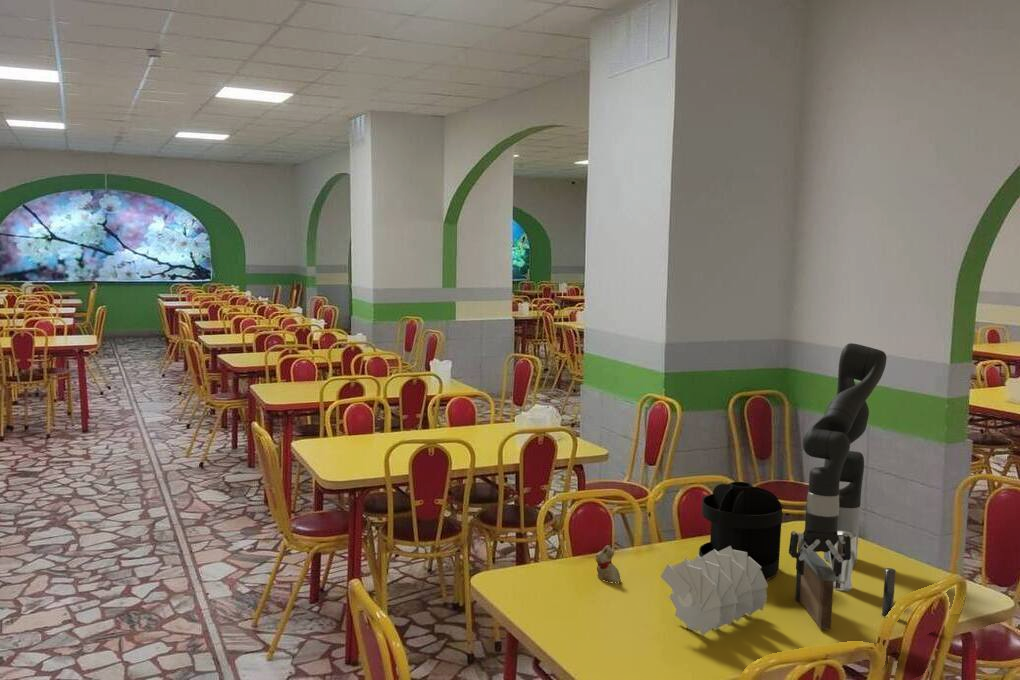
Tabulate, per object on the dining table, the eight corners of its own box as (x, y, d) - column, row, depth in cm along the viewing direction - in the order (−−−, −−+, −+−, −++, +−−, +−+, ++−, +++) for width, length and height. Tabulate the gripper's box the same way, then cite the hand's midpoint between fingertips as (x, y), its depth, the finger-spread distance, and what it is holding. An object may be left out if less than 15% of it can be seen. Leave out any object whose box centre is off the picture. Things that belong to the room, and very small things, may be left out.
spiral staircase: (756, 631, 214) (696, 654, 198) (706, 582, 226) (645, 600, 210) (790, 576, 207) (730, 596, 191) (737, 528, 219) (676, 543, 203)
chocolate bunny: (611, 573, 240) (613, 538, 239) (622, 583, 233) (624, 548, 232) (593, 574, 239) (594, 540, 238) (604, 585, 231) (605, 549, 230)
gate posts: (795, 597, 226) (799, 535, 225) (892, 614, 217) (896, 549, 215) (794, 601, 223) (798, 538, 222) (892, 618, 214) (897, 553, 213)
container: (744, 551, 261) (749, 471, 258) (793, 578, 240) (799, 492, 237) (682, 559, 253) (686, 476, 251) (727, 587, 232) (732, 498, 229)
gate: (809, 600, 222) (812, 548, 221) (831, 629, 205) (835, 572, 204) (797, 600, 222) (800, 548, 221) (819, 628, 205) (822, 572, 204)
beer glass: (855, 593, 230) (859, 539, 229) (828, 590, 232) (832, 536, 230) (851, 583, 237) (854, 531, 236) (824, 581, 238) (828, 528, 237)
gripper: (846, 507, 212) (842, 570, 214) (788, 505, 213) (784, 567, 214) (857, 516, 204) (852, 581, 206) (796, 514, 205) (792, 579, 207)
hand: (818, 574), depth 210 cm, fingers open, 8 cm apart
